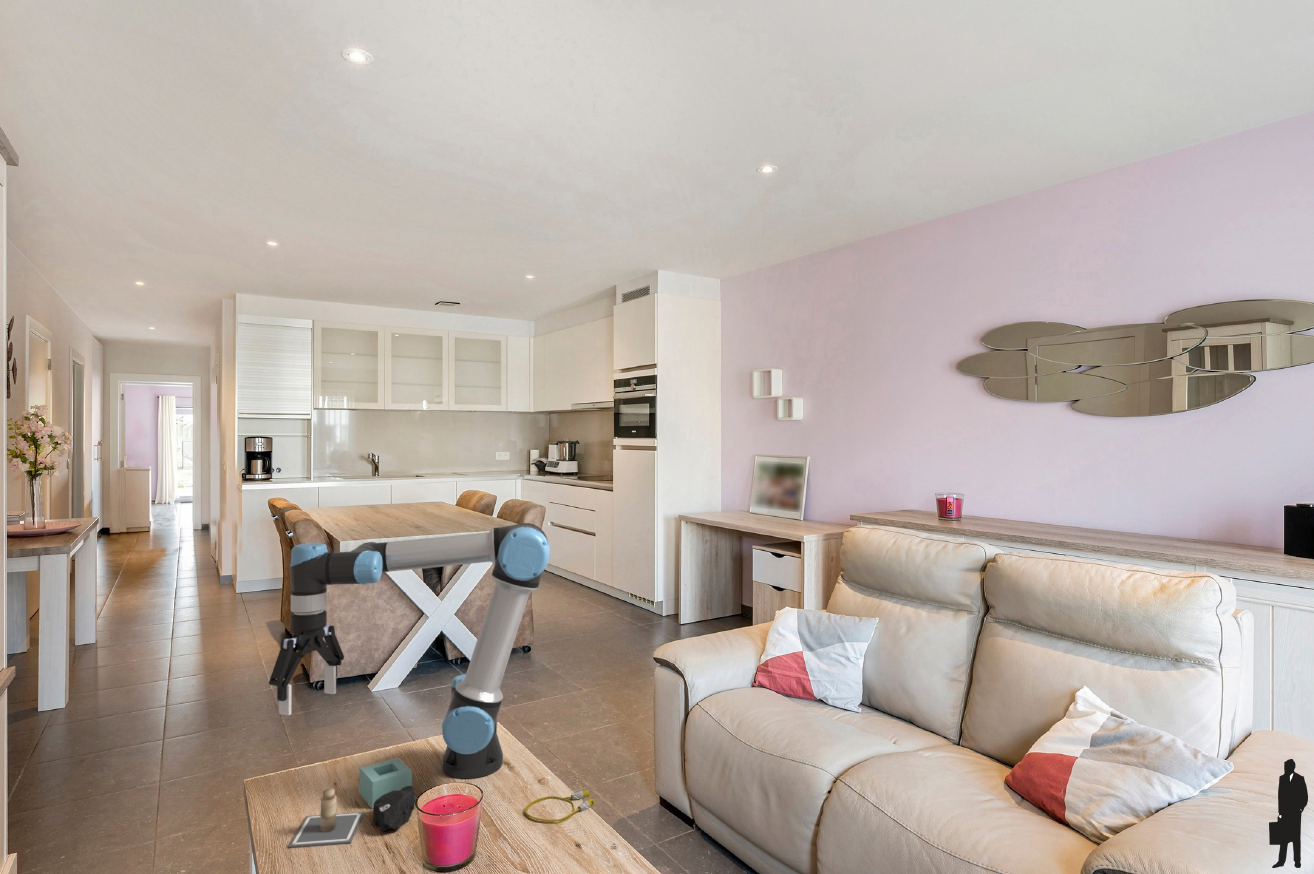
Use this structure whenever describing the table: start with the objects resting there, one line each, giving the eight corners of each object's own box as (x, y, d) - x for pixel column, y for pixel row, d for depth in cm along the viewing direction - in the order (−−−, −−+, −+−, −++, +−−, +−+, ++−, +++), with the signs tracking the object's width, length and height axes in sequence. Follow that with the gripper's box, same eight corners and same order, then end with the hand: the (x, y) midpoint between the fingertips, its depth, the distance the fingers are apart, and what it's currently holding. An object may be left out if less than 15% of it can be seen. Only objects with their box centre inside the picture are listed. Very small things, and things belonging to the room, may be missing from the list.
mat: (364, 813, 158) (364, 811, 158) (350, 843, 146) (350, 841, 146) (306, 817, 156) (306, 815, 156) (288, 847, 144) (288, 845, 144)
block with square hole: (397, 782, 172) (398, 757, 172) (411, 796, 166) (412, 770, 166) (359, 793, 167) (360, 767, 167) (372, 808, 160) (372, 781, 160)
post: (337, 824, 152) (338, 786, 153) (333, 831, 149) (334, 793, 150) (322, 825, 152) (323, 787, 152) (318, 832, 149) (319, 794, 149)
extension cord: (595, 823, 156) (595, 814, 156) (523, 826, 154) (523, 817, 154) (593, 796, 168) (593, 787, 168) (526, 799, 166) (526, 790, 166)
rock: (425, 824, 154) (426, 797, 154) (383, 837, 148) (384, 809, 148) (409, 806, 162) (409, 780, 162) (368, 818, 156) (369, 791, 156)
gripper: (334, 598, 176) (334, 683, 176) (250, 623, 152) (250, 721, 152) (359, 600, 174) (359, 686, 174) (278, 625, 150) (278, 725, 150)
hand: (308, 703), depth 163 cm, fingers open, 13 cm apart
